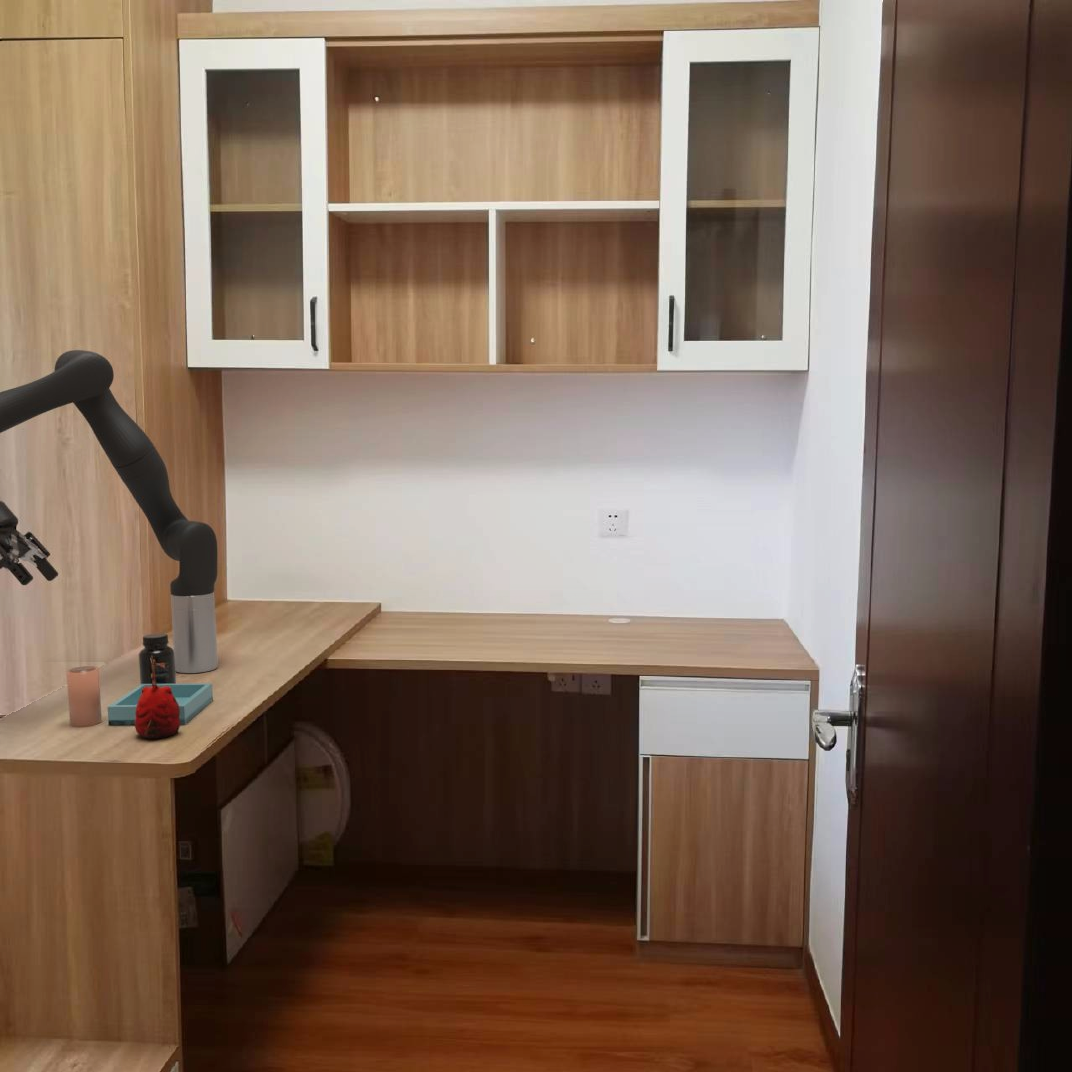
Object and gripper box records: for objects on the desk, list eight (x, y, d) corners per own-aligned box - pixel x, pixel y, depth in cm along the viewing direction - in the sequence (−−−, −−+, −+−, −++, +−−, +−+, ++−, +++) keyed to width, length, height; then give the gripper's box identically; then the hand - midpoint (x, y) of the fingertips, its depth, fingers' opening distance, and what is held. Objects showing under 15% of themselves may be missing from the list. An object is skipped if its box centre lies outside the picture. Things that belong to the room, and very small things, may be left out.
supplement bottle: (181, 688, 210) (178, 631, 208) (170, 697, 203) (167, 638, 202) (147, 688, 210) (144, 632, 208) (135, 697, 203) (132, 639, 201)
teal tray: (142, 701, 200) (141, 683, 200) (212, 700, 200) (212, 683, 200) (108, 725, 184) (107, 706, 184) (185, 724, 184) (184, 706, 184)
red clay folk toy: (184, 728, 182) (180, 647, 181) (176, 740, 176) (171, 656, 174) (140, 730, 181) (135, 648, 180) (130, 742, 174) (125, 658, 173)
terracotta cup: (78, 718, 189) (74, 665, 188) (106, 718, 189) (103, 665, 188) (64, 727, 184) (60, 673, 183) (94, 726, 184) (90, 672, 183)
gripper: (-25, 500, 178) (35, 570, 178) (21, 499, 193) (76, 564, 193) (-55, 528, 179) (4, 597, 179) (-8, 525, 193) (47, 589, 193)
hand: (41, 580), depth 186 cm, fingers open, 8 cm apart
